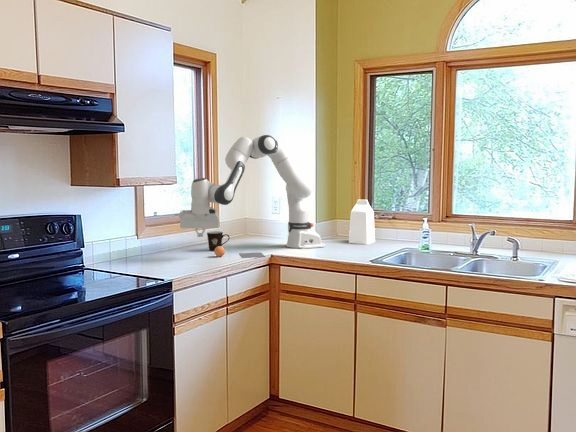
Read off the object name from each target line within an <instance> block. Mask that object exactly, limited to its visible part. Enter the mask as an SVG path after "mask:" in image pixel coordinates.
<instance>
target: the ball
mask: <svg viewBox="0 0 576 432" xmlns="http://www.w3.org/2000/svg"><path fill="white" fill-rule="evenodd" d="M213 252H214V255H215V256H216V257H218V258H220V257H221V258H222V257H223V256H225V253H226V249H225V248H224V247H223V245H222V246H218V247H216V248H215V250H214V251H213Z"/></svg>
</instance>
